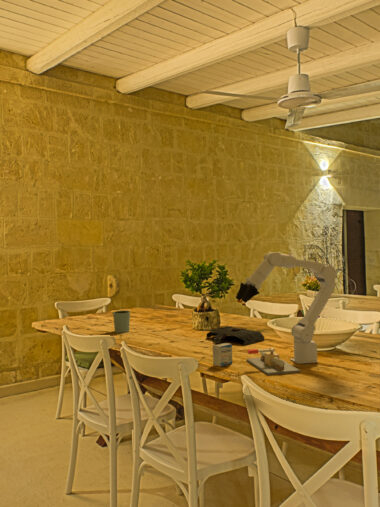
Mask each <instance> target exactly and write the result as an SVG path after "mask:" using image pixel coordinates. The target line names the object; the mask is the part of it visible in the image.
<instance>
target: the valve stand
mask: <svg viewBox="0 0 380 507" xmlns="http://www.w3.org/2000/svg"><path fill="white" fill-rule="evenodd" d="M259 354H260V355H261V356H260V357H250V358H246V362H248V363H249V364H250V365H252V366H253V367H255V368H256V369H258V370H259V371H261V372H262V373H263V374H265V375H267V376H274V375H275V374H277V375H287V374H299V373H300V374H301V369H299V368H297V367H295V366H294V365H292V364H290V363H288V362H287V361H285V360H283V359H282V358H280V354H279V353H277V352H276V351H275V352H259ZM275 376H276V375H275Z"/></svg>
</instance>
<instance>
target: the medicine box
mask: <svg viewBox="0 0 380 507" xmlns="http://www.w3.org/2000/svg"><path fill="white" fill-rule="evenodd" d="M231 364H233V344H232V343H230V342H229V343H228V342H224V343H218V344H214V345H212V365H213V366H215V367H220V368H221V367H226V366H229V365H231ZM225 365H226V366H225Z"/></svg>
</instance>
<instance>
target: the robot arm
mask: <svg viewBox="0 0 380 507" xmlns="http://www.w3.org/2000/svg"><path fill="white" fill-rule="evenodd" d="M275 267H278V268H279V267H280V268H286V269H293V268H295V267H298V268H303V269H309V270H310V272H311V273H312V274H313V277H314V278H315V279H316V281H317V282H318V284H319V287H320V288H319V290H318V292H317V293H316V295H315V297H314V298H313V301H312V302H311V303H310V306H309V308H308V309H307V311H306V312H305V314H304V316H303V317H302V318H301V319H299V320H298V322H297V323H296V324H294V325H293V326H292V328H291V330H290V333H291V335H292V337H293V358H290V360H291V361H292V362H294V363H296V364H298V365H300V364H312V363H314V364H315V363H318V362H319V361H318V345H317V343H316V342H315V341H314V340H313V338H314V334H315V331H316V322H317V320H318V318H319V317H320V315H321V313H322V312H323V310H324V309H325V306H326V305H327V303H328V301H329V299H330V298H331V296H332V294H333V292H334V290H335V286H336V278H337V277H338V273H337V271H336V268H335V267H334V266H333V265H327V264H326V263H322V262H319V261H314V260H313V261H312V260H304V259H297V258H296V256H295V255H293V254H292V253H287V254H286V253H281V252H280V251H279V252H274V251H273V252H271V251H270V252H267V253H265V254H264V255H263V260H262V261H261V263H259V265H258V266H257V268H256V269H255V270H254V271H253V273H252V274H251V275H250V277H245V282H240V284H239V289H238V292H237V294H236V295H235V299H237V300H238V301H242V302H244V303H245V304H246V303H248V302H249V301H250V300H252V298H253V297H256V296H257V295H260V291H259V290H260V289H261V288H262V285H263V283H264V282H265V281H266V279H267V278H268V277H269V276H270V274H271V272H273V270H274V269H275Z"/></svg>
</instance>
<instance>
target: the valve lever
mask: <svg viewBox="0 0 380 507" xmlns="http://www.w3.org/2000/svg"><path fill="white" fill-rule="evenodd" d="M261 352H275V353H276V350H275V347H271V348H263V349H257V348H253V349H252V348H251V349H247V354H249V355H254V354H259V353H261Z"/></svg>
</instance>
